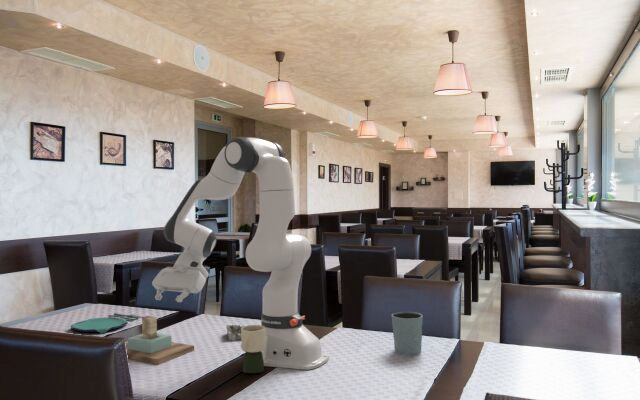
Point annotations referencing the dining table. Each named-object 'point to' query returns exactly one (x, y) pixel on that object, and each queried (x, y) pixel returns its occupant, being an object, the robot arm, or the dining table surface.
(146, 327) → the beige tall block
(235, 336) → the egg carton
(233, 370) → the dining table surface
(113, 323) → the teal flat piece
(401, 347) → the grey green cup
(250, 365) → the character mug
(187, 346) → the walnut board
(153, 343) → the end cap
